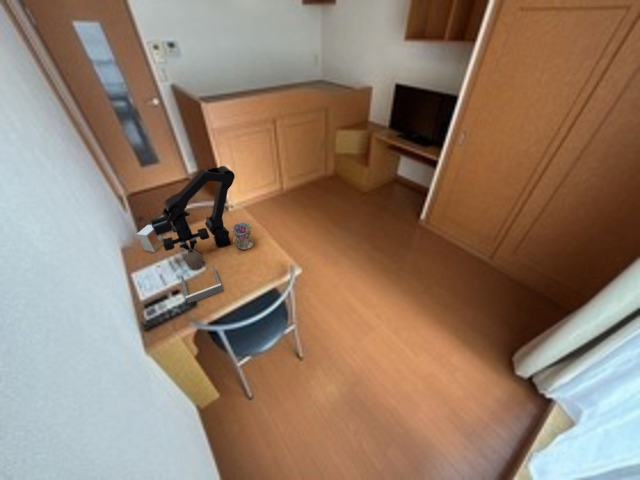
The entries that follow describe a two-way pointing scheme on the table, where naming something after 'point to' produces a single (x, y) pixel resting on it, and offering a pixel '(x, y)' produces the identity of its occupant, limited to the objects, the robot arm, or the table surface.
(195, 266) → the vase
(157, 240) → the small box
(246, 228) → the mug
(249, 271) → the table surface
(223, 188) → the robot arm
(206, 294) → the bay
